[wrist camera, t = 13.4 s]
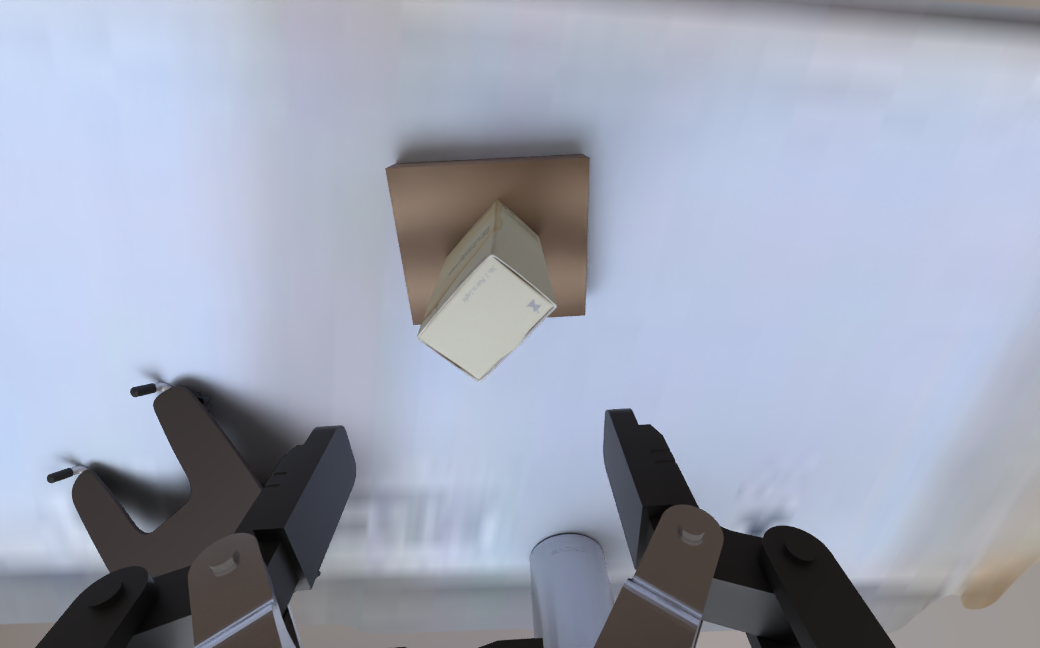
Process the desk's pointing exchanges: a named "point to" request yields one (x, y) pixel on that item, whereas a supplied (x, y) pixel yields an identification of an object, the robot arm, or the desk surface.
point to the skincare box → (488, 294)
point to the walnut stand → (469, 194)
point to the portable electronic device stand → (202, 520)
